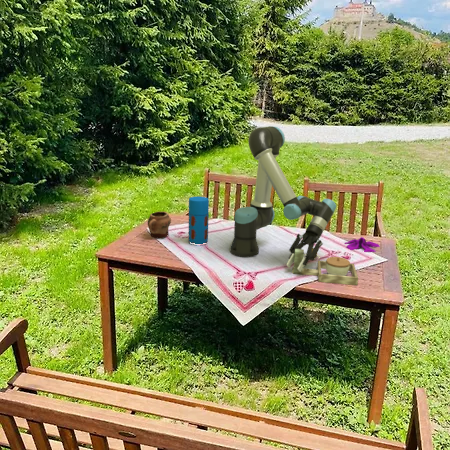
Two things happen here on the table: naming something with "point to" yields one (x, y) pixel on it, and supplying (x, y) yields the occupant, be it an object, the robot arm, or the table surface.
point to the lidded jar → (337, 266)
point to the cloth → (361, 245)
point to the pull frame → (324, 277)
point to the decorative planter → (159, 224)
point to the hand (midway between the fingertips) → (293, 268)
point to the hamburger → (315, 256)
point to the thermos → (198, 219)
